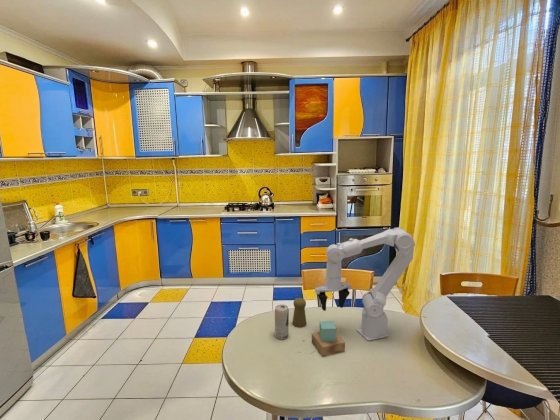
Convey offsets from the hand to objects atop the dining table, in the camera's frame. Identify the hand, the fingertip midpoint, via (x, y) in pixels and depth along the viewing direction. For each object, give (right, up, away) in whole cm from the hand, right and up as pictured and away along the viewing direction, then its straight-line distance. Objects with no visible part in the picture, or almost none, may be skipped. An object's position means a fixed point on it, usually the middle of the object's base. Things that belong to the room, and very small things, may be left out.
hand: (332, 308), depth 120 cm
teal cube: (-3, -8, -8) cm, 12 cm away
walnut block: (-3, -12, -7) cm, 15 cm away
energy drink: (-20, -11, -1) cm, 23 cm away
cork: (-13, -9, +8) cm, 18 cm away
